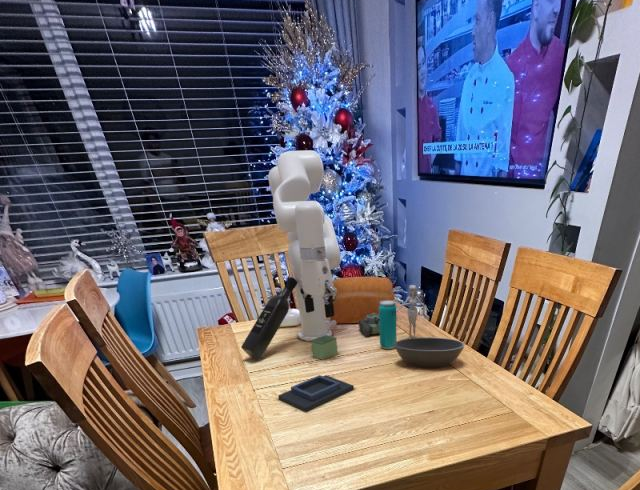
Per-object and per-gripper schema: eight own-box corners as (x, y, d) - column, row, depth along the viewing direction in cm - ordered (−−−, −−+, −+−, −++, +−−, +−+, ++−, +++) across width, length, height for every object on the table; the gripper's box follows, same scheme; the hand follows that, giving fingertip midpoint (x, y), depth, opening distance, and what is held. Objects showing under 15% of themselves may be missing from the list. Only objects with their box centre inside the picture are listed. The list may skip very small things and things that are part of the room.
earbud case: (271, 321, 178) (269, 308, 174) (303, 319, 179) (301, 306, 175) (269, 329, 170) (267, 315, 166) (302, 327, 171) (300, 313, 167)
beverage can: (399, 345, 152) (398, 300, 142) (392, 351, 148) (391, 305, 138) (384, 343, 154) (383, 299, 144) (377, 348, 150) (375, 303, 140)
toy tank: (383, 325, 169) (382, 307, 165) (392, 335, 160) (392, 316, 156) (358, 328, 167) (356, 310, 163) (365, 338, 158) (364, 319, 154)
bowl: (463, 371, 132) (465, 351, 129) (392, 370, 135) (392, 350, 131) (462, 356, 142) (464, 337, 138) (396, 355, 144) (396, 337, 140)
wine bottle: (251, 350, 139) (295, 275, 143) (239, 346, 141) (283, 272, 145) (261, 360, 144) (304, 287, 148) (249, 356, 147) (291, 285, 150)
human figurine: (396, 341, 155) (395, 287, 144) (395, 337, 158) (394, 284, 147) (429, 339, 156) (431, 285, 144) (427, 336, 159) (429, 283, 147)
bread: (394, 323, 171) (394, 280, 161) (329, 324, 172) (325, 282, 162) (395, 313, 182) (394, 272, 172) (333, 314, 183) (330, 274, 173)
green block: (328, 350, 150) (326, 334, 146) (337, 353, 147) (336, 337, 144) (312, 356, 146) (310, 340, 142) (322, 359, 143) (320, 343, 140)
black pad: (326, 378, 131) (325, 369, 129) (353, 389, 125) (353, 380, 123) (278, 399, 121) (276, 390, 119) (306, 411, 114) (304, 402, 113)
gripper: (342, 254, 124) (347, 316, 135) (304, 249, 134) (311, 307, 144) (322, 258, 120) (329, 321, 131) (285, 253, 130) (294, 312, 140)
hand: (320, 314), depth 138 cm, fingers open, 9 cm apart
